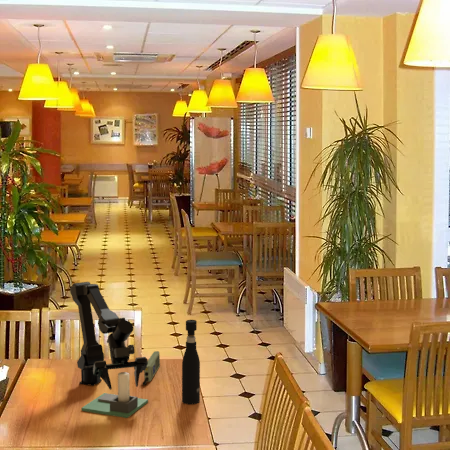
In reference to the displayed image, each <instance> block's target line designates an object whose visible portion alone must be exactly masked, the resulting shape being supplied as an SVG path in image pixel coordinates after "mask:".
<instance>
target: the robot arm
mask: <svg viewBox="0 0 450 450" xmlns="http://www.w3.org/2000/svg"><path fill="white" fill-rule="evenodd" d="M69 291H70V294H71V297H72V298H71V299H72V301H73V302H74V303H75V304H76V306H77V308H78V313H79V314H78V315H79V323H80V328H81V333H82V340H83V344H82V347H81V349H80V356H79V358H78V360H77V362H76V365H77V368H78V369H79V370H80V371H81V373H80V374H81V375H80V376H81V378H80V379H81V380H80V381H79V383H78V384H80V385H87V386H92V387H93V386H95V385H97V384H99V383H101V382H102V380H103V382H104V383H105V384H106V386H107V387H108V389H109V390H110V391H111V390H112V383H111V378H110V374H109V370H117V369H128V368H133V369H134V372H133V373H134V374H133V375H134V384H135V387H136V388H138V386H139V380H140V375H141V374H142V373H144V370H146V367H147V364H148V358H147V357H146V356H140V357H135V359H134V360H133V361H129V360H130V356H131V355H134V354H135V345H134V344H128V345H127V346H126V343H125V342H126V341H127V340H128V338H129V337H130V336H131V334H132V333H133V331H134V325H133V323H132V322H131V321H129V320H127V319H126V318H125V317H119V316H118V314H117V313H116V312H114V311H112V310H111V309H110V308H109V306H108V304H107V302H106V300H105V298H104V297H103V294H102V293H101V291H100V287H99V285H98V284H97V283H91V282H90V281H83V282H73V283H72V284H71V286H70V288H69ZM92 307H93V310H94V312H95V313H96V316H97V317H98V321H97V326H98V328H99V331H100V332H101V334H105V335H106V334H109V335H108V337H107V340H106V343H107V344H108V349H109V355H110V361H111V363H107V361H106V360H105V354H104V350H103V349H104V348H103V346H102V344H99V342H98V341H97V338H96V331H95V324H94V319H93V312H92Z"/></svg>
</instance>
